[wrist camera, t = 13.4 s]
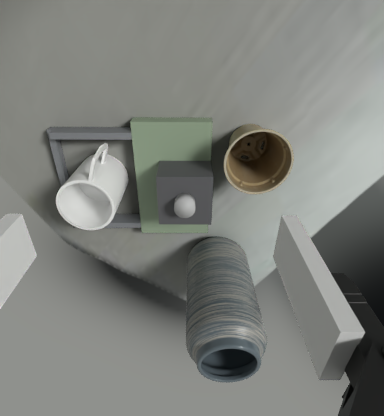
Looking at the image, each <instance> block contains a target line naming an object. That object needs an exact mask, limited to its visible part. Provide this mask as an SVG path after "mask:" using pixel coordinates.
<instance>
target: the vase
mask: <svg viewBox="0 0 384 416" xmlns="http://www.w3.org/2000/svg"><path fill="white" fill-rule="evenodd" d="M186 304H187V305H186V306H187V307H186V309H187V310H186V346H187V350H188V353H189V355H190V357H191V358H192V359H193V360H194V362H195V363H196V364H197V368H198V370H199V372H200V373H201V374H202V375H203V376H204V377H206V378H208V379H210V380H213V381H218V382H236V381H240V380H244V379H247V378H249V377H251V376H252V375H253V374H255V373H256V372H257V371H258V370H259V368H260V365H261V358H262V356H263V354H264V352H265V349H266V345H267V336H266V332H265V328H264V325H263V320H262V317H261V313H260V309H259V305H258V301H257V297H256V293H255V289H254V285H253V281H252V277H251V273H250V269H249V265H248V262H247V258H246V254H245V252H244V250H243V249H242V248H241V246H240V245H238V244H237V243H236V242H234V241H232V240H230V239H227V238H223V237H210V238H207V239H205V240H203V241H201V242H199V243H198V244H197V245H195V246H194V247H193V249H192V250H191V251H190V253H189V255H188V259H187V303H186Z"/></svg>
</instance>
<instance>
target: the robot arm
mask: <svg viewBox="0 0 384 416" xmlns="http://www.w3.org/2000/svg"><path fill="white" fill-rule="evenodd" d="M36 256H37V255H36V252H35V249H34V246H33V243H32V241H31V238H30V235H29V232H28V230H27V227H26V224H25V221H24V218H23V216H22V214H6V215H5V216H4V217H3V218H2V219H1V220H0V309H1V307H2V306H3V304H4V303H5V301H6V300H7V298H8V297H9V296H10V294H11V293H12V291H13V290H14V288H15V287H16V285H17V284H18V282H19V281H20V280H21V278H22V277H23V275H24V274H25V272H26V271H27V269H28V268H29V267H30V265H31V264H32V262H33V261H34V259H35V257H36ZM273 258H274V260H275V263H276V266H277V268H278V271H279V274H280V277H281V279H282V282H283V285H284V287H285V290H286V293H287V295H288V298H289V301H290V303H291V306H292V309H293V311H294V314H295V317H296V320H297V322H298V325H299V328H300V330H301V333H302V336H303V338H304V341H305V344H306V346H307V349H308V352H309V354H310V357H311V360H312V363H313V365H314V368H315V371H316V373H317V376H318V379H319V380H340V379H341V377H342V375H343V374H344V372H346V374H347V376H348V378H349V380H350V384H349V385H348V387H347V389H346V391H345V392H344V395H343V396H342V398H343V402H342V405H341V408H340V411H339V414H338V416H384V327H383V326H382V324H381V323H380V321H379V320H378V318H377V316H376V315H375V313H374V312H373V311H372V309H371V307H370V306H369V304H367V301H366V300H365V298H364V297H363V295H361V292H360V291H359V289H358V288H357V286H356V285H355V283H354V282H353V281H352V280H350V279H349V278H348V277H347V276H346V275H344V274H343V273H330V272H329V270H328V268H327V266H326V265H325V263H324V261H323V259H322V258H321V256H320V254H319V252H318V251H317V249H316V247H315V246H314V244H313V242H312V240H311V239H310V237H309V235H308V234H307V232H306V230H305V229H304V227H303V225H302V223H301V222H300V220H299V218H298V217H297V215H282V217H281V221H280V226H279V231H278V236H277V240H276V245H275V250H274V255H273Z"/></svg>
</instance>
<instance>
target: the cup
mask: <svg viewBox="0 0 384 416" xmlns="http://www.w3.org/2000/svg"><path fill="white" fill-rule="evenodd" d="M107 151H108V143H104V144H102V145H101V146H100V147H99V148H98V150H97V152H96V153H95V154H94V155H91V156H89V157H88V158H86V159H85V160H84V161H83V162H82V164H81V165H80V166H79V167H78V168H77V169H76V171H75V172H74V173H73V174H72V175H71V176H70V178H69V179H68V180H67V181H66V182H65V183H64V185H63V186H62V187H61V188H60V189H59V191H58V193H57V196H56V205H57V209H58V211H59V213H60V214H61V216H62V217H63V218H64V219H65V220H66V221H67V222H68V223H70V224H71V225H73V226H75V227H77V228H80V229H85V230H97V229H101V228H103V227H105V226H107V225H108V224H109V223H110V222H111V221H112V219H113V218H114V215H115V213H116V210H117V208H118V206H119V203H120V201H121V199H122V196H123V194H124V192H125V189H126V187H127V184H128V174H127V170H126V169H125V167H124V165H123V164H122V163H121V162H120V161H119V160H118V159H116V158H114V157H112V156H110V155H107ZM102 152H103V154H101V153H102Z"/></svg>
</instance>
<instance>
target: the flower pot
mask: <svg viewBox="0 0 384 416" xmlns="http://www.w3.org/2000/svg"><path fill="white" fill-rule="evenodd" d="M262 142H264V148H263V149H261V146H262ZM248 143H250V145H247V144H248ZM242 156H249V157H248V159H245V158H242ZM293 161H294V155H293V150H292V147H291V144H290V143H289V141H288V140H287V139H286V138H285V137H284V136H283V135H281V134H280V133H278V132H276V131H273V130H270V129H263V128H261V127H260V126H258V125H255V124H247V125H243V126H241V127H239V128H238V129H237V130H235V131H234V132H233V134H232V135H231V138H230V141H229V148H228V150H227V152H226V154H225V157H224V173H225V176H226V178H227V180H228V181H229V183H230V184H231V185H232V186H233V187H234V188H236V189H237V190H239V191H241V192H244V193H247V194H262V193H265V192H269V191H271V190H273V189H275V188H277V187H278V186H279V185H281V184H282V183H283V182H284V181H285V180H286V178H287V177H288V175H289V174H290V171H291V169H292V166H293Z"/></svg>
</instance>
